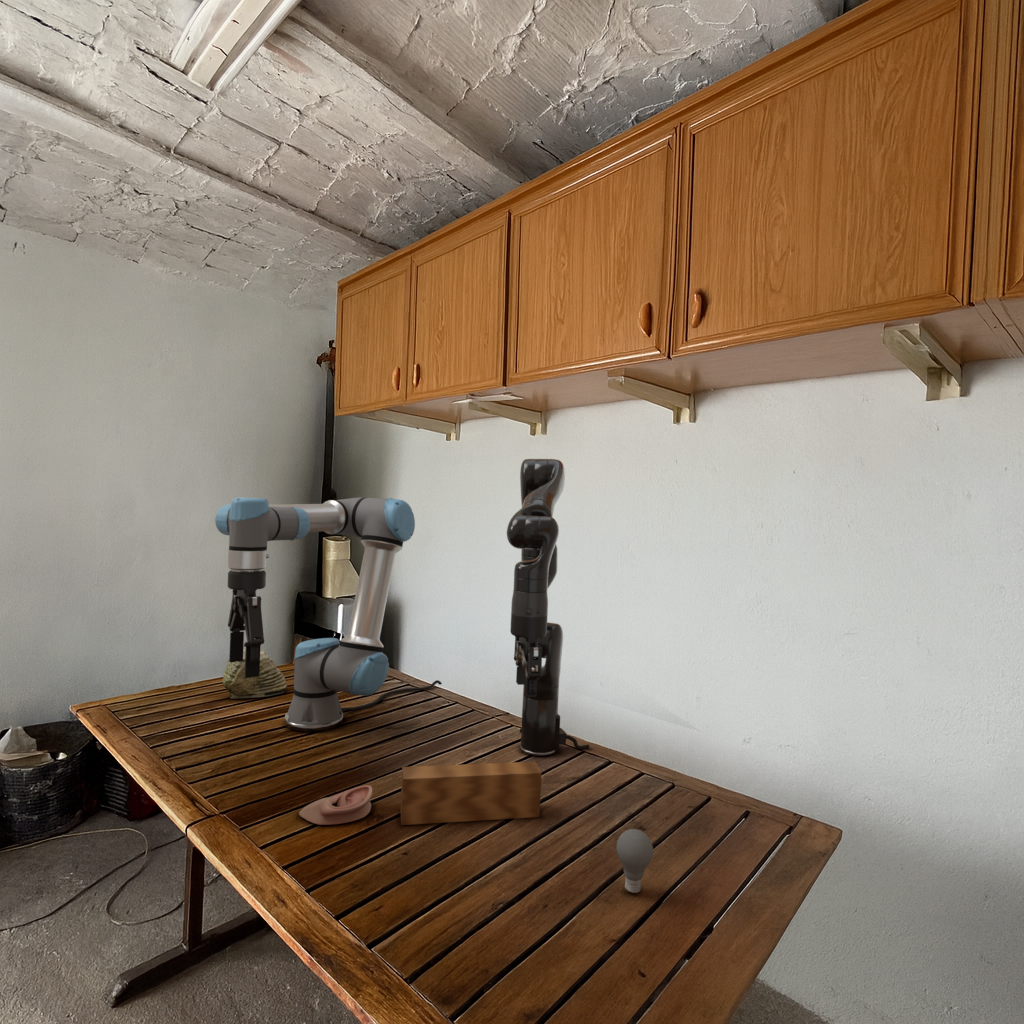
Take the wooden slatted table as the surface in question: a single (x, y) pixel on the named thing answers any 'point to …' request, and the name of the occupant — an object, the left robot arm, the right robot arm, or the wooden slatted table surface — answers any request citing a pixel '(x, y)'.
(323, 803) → the anatomical model
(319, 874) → the wooden slatted table surface
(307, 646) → the left robot arm
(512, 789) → the bar
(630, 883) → the light bulb
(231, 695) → the fossil
